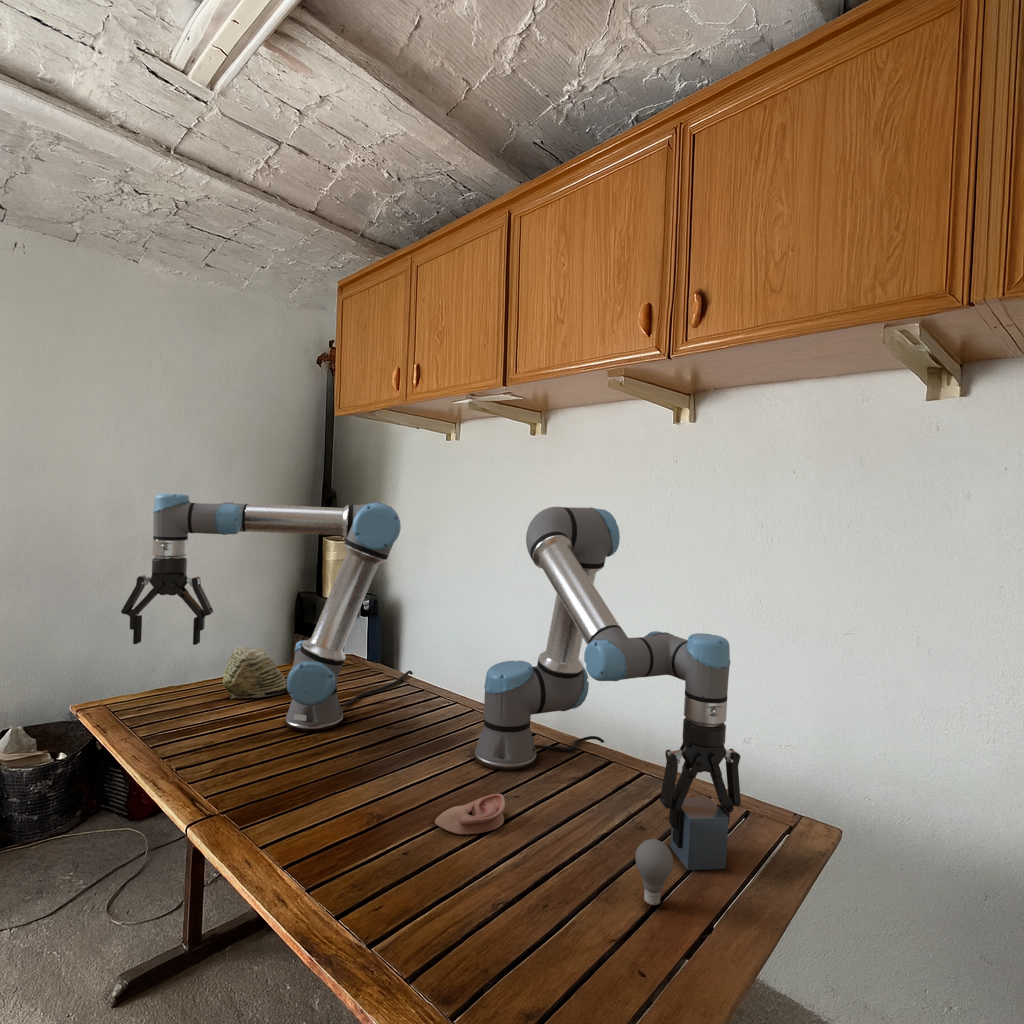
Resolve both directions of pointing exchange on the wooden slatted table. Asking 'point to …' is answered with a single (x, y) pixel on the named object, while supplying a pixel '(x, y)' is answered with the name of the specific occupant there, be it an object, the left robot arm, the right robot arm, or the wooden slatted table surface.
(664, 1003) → the wooden slatted table surface
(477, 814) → the anatomical model
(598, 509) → the right robot arm
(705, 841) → the brick
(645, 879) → the light bulb
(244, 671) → the fossil
